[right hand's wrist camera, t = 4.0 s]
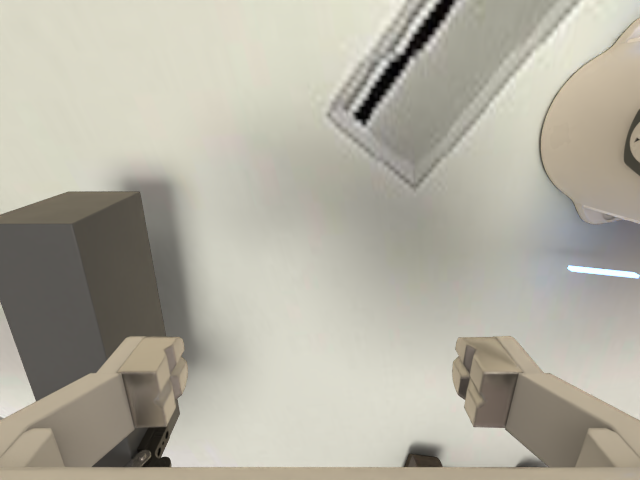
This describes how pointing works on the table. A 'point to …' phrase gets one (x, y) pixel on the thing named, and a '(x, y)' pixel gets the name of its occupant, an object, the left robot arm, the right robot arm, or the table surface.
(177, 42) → the table surface
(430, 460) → the toy
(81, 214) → the box
